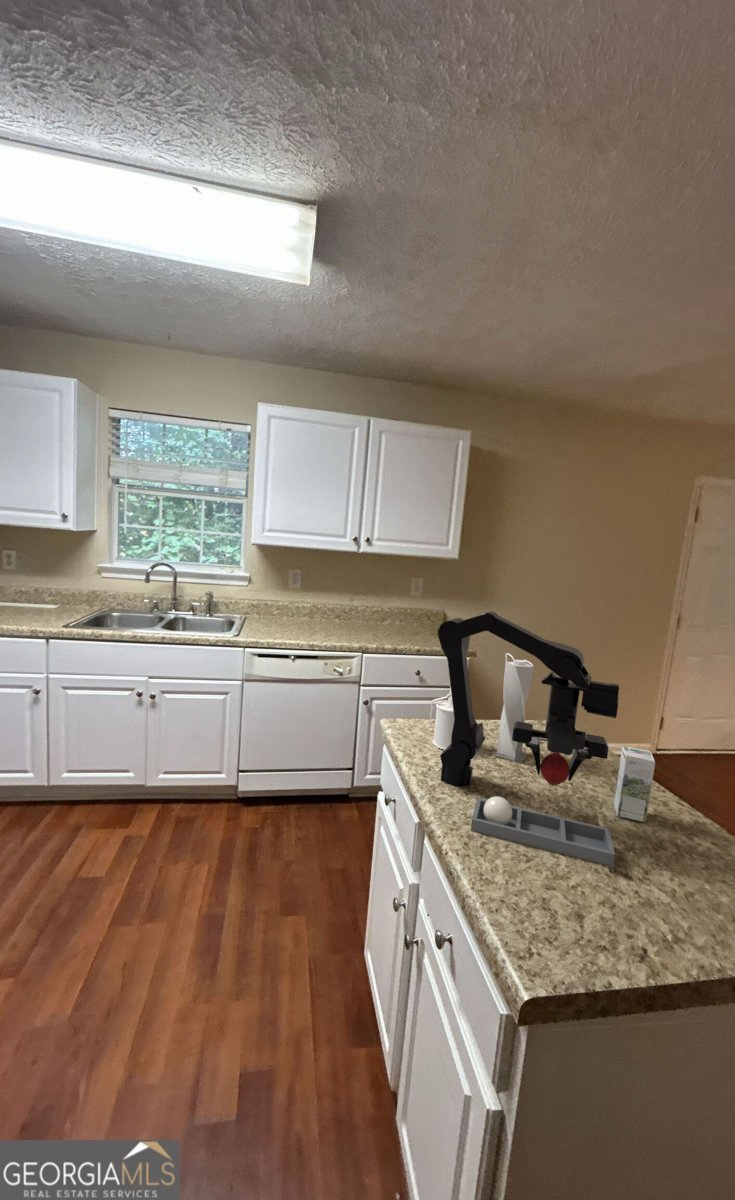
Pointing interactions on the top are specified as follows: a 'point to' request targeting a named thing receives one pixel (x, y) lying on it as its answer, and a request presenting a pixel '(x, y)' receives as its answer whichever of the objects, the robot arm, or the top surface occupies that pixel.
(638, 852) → the top surface
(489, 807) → the ceramic egg
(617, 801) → the syrup box
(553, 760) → the onion
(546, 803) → the top surface
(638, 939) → the top surface
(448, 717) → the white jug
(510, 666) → the skyscraper
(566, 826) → the egg tray
